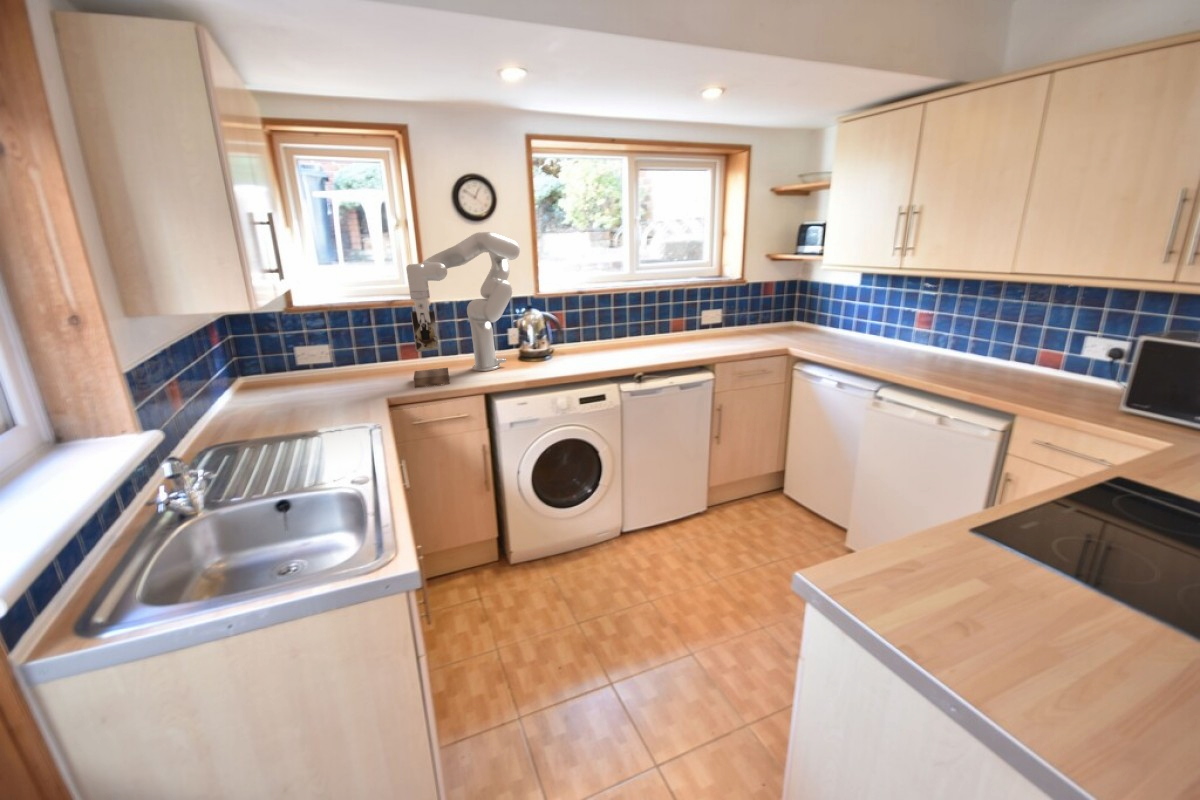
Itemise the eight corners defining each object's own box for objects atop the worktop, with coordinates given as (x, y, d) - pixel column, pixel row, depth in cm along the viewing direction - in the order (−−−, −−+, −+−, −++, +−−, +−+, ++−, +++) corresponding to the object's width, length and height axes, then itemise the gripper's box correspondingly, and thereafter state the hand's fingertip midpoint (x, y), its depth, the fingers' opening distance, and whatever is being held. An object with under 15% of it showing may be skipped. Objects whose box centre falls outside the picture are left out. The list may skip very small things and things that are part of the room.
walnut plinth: (449, 376, 235) (447, 367, 234) (449, 383, 223) (448, 374, 222) (416, 379, 231) (414, 371, 230) (415, 387, 219) (413, 378, 218)
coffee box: (416, 352, 218) (411, 313, 213) (415, 349, 224) (410, 311, 219) (439, 349, 221) (434, 310, 216) (438, 346, 227) (432, 309, 222)
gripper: (429, 296, 209) (435, 341, 214) (429, 292, 224) (435, 333, 230) (409, 298, 207) (416, 343, 212) (411, 293, 222) (417, 335, 228)
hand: (426, 337), depth 221 cm, fingers closed on coffee box, 6 cm apart
